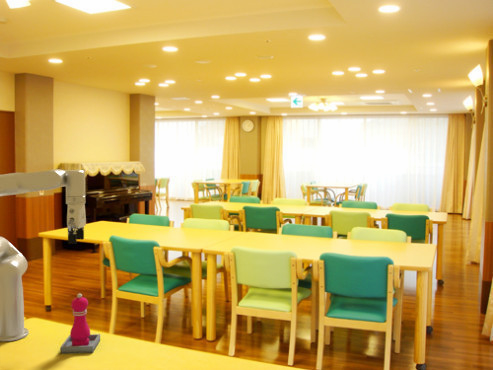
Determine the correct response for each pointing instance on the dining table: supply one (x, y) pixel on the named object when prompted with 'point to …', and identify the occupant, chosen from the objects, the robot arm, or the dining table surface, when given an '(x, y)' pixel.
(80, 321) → the pepper mill
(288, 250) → the dining table surface
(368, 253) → the dining table surface
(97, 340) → the tray
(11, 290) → the robot arm
